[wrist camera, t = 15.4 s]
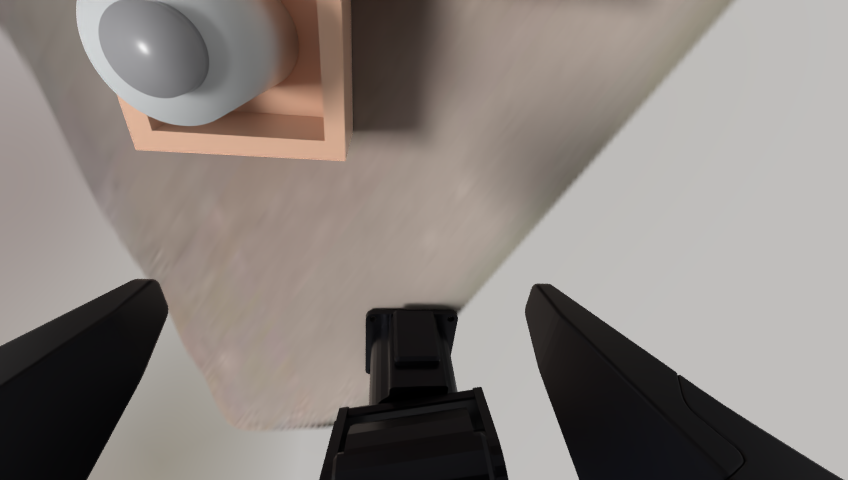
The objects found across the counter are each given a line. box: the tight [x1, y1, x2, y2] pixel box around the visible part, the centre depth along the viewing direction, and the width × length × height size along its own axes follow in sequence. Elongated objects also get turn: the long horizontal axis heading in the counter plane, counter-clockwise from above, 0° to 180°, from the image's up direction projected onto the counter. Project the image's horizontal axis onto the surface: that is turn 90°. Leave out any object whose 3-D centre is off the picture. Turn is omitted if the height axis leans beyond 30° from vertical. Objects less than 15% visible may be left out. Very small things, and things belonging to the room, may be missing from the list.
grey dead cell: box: [76, 0, 299, 126], centre depth 12 cm, size 4×4×8 cm
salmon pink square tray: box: [117, 0, 353, 161], centre depth 14 cm, size 8×8×4 cm
